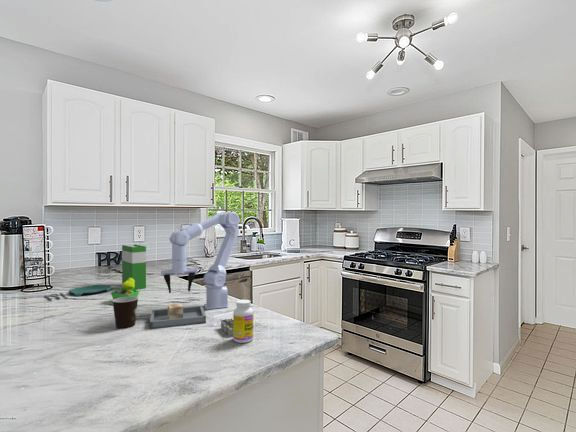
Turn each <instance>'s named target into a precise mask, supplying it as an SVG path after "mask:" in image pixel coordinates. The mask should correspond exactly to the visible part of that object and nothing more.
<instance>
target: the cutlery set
mask: <svg viewBox="0 0 576 432" xmlns="http://www.w3.org/2000/svg"><path fill="white" fill-rule="evenodd" d="M111 289H112V287H111V285H106V284H93V285H88V286H81V287H76V288H75V287H74V288H71V289H69V290H68V293H69V294H71V295H74V296H76V297H81V296H82V295H90V294H97V293H101V292H107V291H111ZM51 295H52V296H51ZM59 295H61V296H62V297H64V298H66V299H68V298H69V297H68V296H66V294H64V293H63V292H59V294H58V293H51V294H50V295H43V298H44V299H47V300H48V301H51V302H52V301H53V299H52V298H53V297H55V298H56V299H57V300H61V297H60V296H59ZM51 297H52V298H51Z"/></svg>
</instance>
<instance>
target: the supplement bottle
mask: <svg viewBox="0 0 576 432" xmlns="http://www.w3.org/2000/svg"><path fill="white" fill-rule="evenodd" d="M235 304H236V305H235V306H236V308H235V309H234V310H233V312H232V313H233V315H232V317H233V318H232V320H233V336H232V339H233V341H234V342H236V343H240V344H246V343H249V342H250V343H251V342H252V341H253V339H254V310H253V308H252V307H251V304H252V303H251V300H249V299H238V300H236V303H235Z"/></svg>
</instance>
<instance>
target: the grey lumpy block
mask: <svg viewBox="0 0 576 432" xmlns="http://www.w3.org/2000/svg"><path fill="white" fill-rule="evenodd" d="M219 321H220V330H221V331H223V332H224V333H225V334H227V335H228V336H230V337H231V336H232V337H233V318H224V319H223V318H221V319H219Z"/></svg>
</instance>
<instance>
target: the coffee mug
mask: <svg viewBox="0 0 576 432" xmlns="http://www.w3.org/2000/svg"><path fill="white" fill-rule="evenodd" d="M138 302H139V297H121V298H116V299H114V300H113V299H112V308H113V315H114V322H115V328H116V329H117V330H118V329H119V330H124V329H125V330H126V329H129V328H133V327H134V326H136V320H137V319H136V318H137V312H138V311H137V309H138Z"/></svg>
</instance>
